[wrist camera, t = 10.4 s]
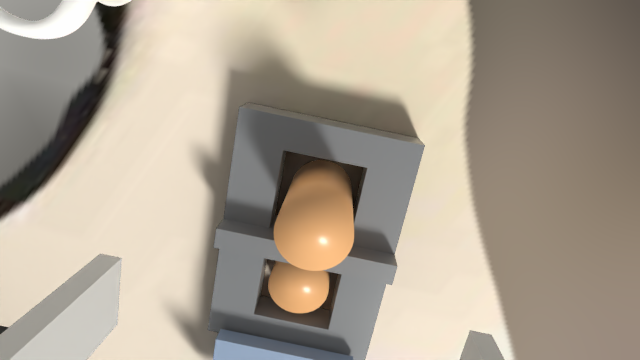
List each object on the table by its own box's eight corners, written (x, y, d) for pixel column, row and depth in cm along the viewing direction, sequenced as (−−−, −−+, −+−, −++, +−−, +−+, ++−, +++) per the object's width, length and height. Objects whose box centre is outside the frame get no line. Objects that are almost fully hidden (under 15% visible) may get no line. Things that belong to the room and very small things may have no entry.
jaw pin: (296, 154, 30) (280, 189, 22) (357, 166, 30) (362, 205, 22) (286, 211, 31) (267, 262, 23) (344, 223, 31) (345, 278, 23)
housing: (217, 310, 34) (200, 345, 30) (248, 102, 29) (232, 109, 25) (362, 341, 34) (365, 379, 30) (418, 137, 29) (429, 151, 25)
